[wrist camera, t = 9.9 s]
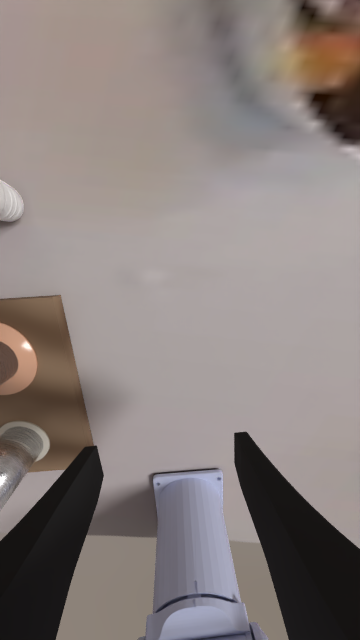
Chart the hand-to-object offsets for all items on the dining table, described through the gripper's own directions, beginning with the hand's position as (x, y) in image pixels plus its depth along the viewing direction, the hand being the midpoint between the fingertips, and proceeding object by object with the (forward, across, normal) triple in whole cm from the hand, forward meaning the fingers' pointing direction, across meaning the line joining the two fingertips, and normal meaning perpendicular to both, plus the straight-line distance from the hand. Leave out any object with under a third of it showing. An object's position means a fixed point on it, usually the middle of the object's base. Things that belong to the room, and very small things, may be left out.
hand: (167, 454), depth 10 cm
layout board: (+9, +15, +1) cm, 18 cm away
